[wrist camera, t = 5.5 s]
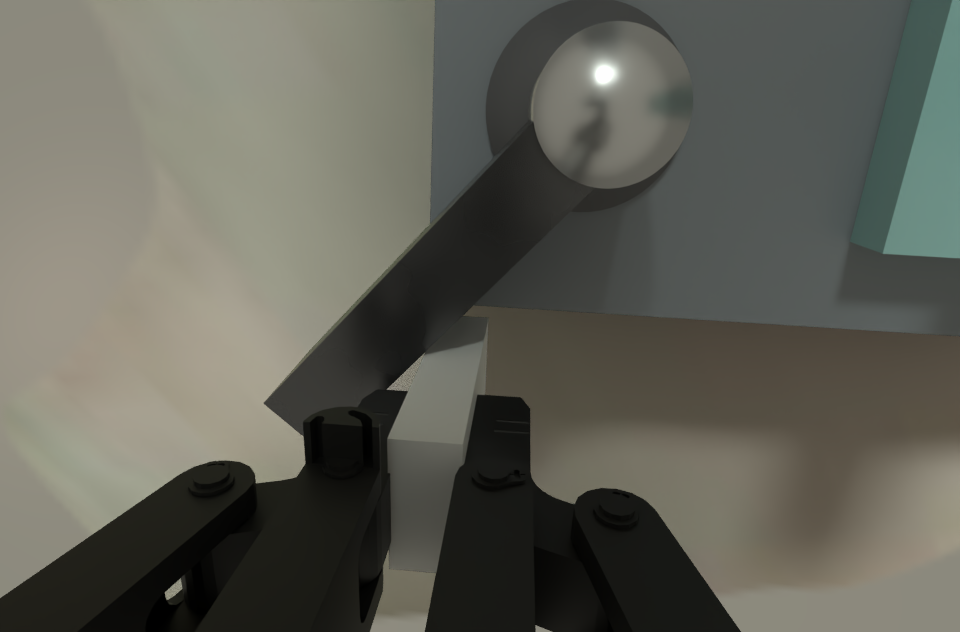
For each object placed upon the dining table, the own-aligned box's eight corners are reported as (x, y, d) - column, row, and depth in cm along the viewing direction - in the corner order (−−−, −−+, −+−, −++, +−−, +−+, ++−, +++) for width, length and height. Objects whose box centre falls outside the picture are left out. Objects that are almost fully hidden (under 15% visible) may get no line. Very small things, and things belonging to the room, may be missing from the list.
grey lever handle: (590, 19, 14) (619, -18, 10) (670, 109, 15) (726, 106, 11) (301, 328, 18) (239, 390, 14) (377, 394, 18) (338, 472, 14)
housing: (464, -181, 18) (441, -320, 13) (1195, -156, 18) (1536, -293, 12) (449, 256, 23) (427, 304, 17) (1031, 292, 22) (1217, 355, 16)
